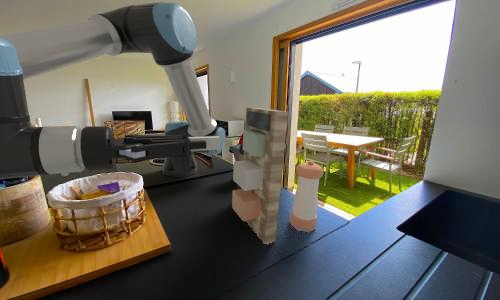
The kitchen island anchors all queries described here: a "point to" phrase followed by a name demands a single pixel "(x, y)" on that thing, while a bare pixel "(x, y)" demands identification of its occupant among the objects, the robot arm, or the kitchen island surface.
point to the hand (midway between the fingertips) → (218, 142)
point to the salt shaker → (306, 196)
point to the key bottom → (246, 204)
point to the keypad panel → (268, 167)
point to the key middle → (248, 174)
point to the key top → (254, 142)
